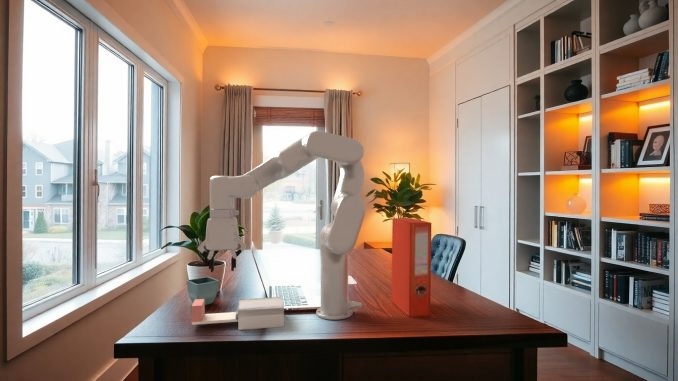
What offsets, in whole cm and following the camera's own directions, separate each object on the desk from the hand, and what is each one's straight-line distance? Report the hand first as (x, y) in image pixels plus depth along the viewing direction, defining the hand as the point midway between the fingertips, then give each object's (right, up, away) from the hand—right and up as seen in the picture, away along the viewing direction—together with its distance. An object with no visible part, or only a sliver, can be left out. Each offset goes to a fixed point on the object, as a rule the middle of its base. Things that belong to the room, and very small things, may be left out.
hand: (222, 270), depth 126 cm
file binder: (+63, -17, +16) cm, 67 cm away
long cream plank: (+4, -16, +1) cm, 16 cm away
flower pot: (-14, -17, +22) cm, 31 cm away
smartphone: (+41, -17, +57) cm, 72 cm away
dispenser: (+12, -17, +3) cm, 21 cm away
